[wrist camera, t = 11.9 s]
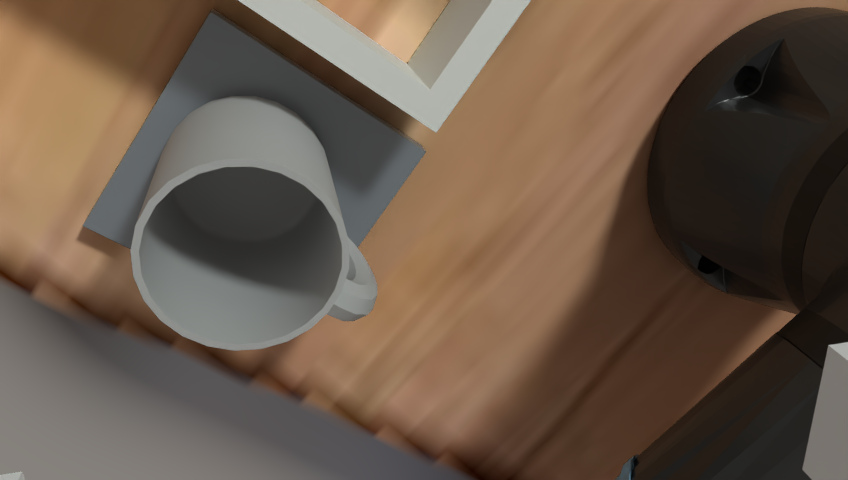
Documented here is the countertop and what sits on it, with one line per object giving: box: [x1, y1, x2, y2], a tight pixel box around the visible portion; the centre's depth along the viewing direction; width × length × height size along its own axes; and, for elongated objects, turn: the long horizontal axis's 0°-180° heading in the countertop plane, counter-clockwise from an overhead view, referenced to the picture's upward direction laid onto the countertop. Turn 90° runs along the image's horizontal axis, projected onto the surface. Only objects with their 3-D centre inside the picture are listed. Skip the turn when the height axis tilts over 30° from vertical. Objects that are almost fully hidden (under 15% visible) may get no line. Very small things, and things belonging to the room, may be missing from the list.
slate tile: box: [83, 9, 426, 249], centre depth 34 cm, size 11×11×1 cm
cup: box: [130, 96, 377, 351], centre depth 30 cm, size 7×10×9 cm
